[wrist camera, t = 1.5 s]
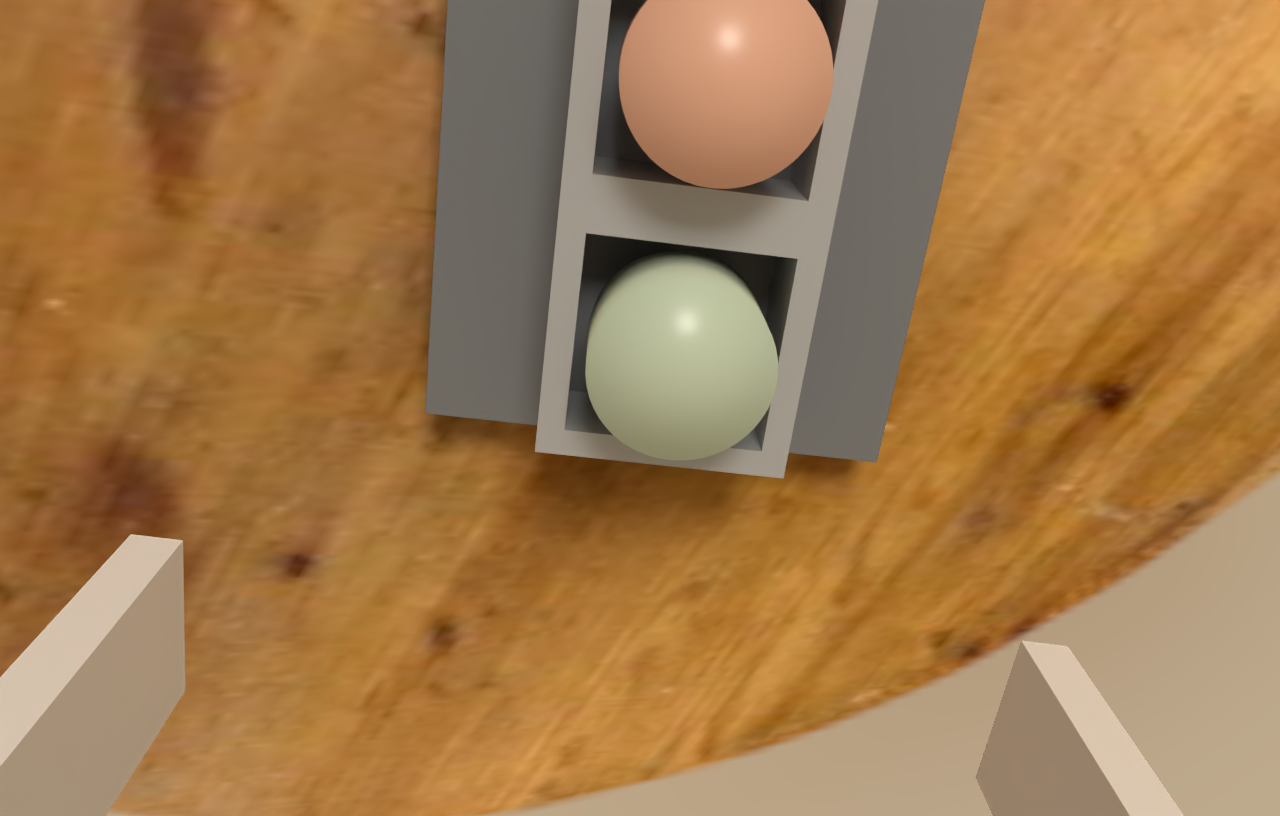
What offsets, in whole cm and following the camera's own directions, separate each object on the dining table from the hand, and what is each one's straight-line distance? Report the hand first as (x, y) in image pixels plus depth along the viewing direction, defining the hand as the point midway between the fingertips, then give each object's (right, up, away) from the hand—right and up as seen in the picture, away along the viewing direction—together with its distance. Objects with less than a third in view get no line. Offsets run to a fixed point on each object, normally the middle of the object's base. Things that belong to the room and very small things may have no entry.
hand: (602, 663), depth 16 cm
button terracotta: (+2, +12, +10) cm, 16 cm away
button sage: (+2, +6, +12) cm, 14 cm away
